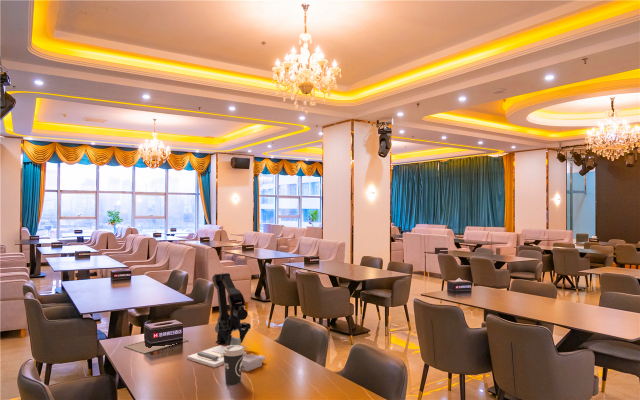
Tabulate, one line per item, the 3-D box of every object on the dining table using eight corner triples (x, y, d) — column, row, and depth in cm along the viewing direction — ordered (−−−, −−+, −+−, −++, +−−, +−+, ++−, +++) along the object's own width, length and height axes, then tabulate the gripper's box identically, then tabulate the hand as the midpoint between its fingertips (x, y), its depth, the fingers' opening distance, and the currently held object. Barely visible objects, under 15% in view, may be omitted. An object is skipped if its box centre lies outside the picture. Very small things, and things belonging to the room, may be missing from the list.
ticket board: (220, 347, 236) (220, 342, 236) (246, 354, 225) (246, 348, 225) (187, 359, 218) (187, 353, 218) (214, 367, 207) (214, 361, 207)
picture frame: (144, 355, 225) (188, 341, 248) (144, 353, 225) (188, 340, 248) (124, 348, 237) (168, 336, 259) (124, 346, 237) (168, 334, 259)
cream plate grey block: (233, 344, 238) (233, 335, 238) (246, 347, 232) (246, 338, 232) (222, 347, 231) (222, 338, 231) (235, 351, 226) (236, 342, 226)
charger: (270, 363, 214) (248, 372, 202) (257, 359, 219) (235, 367, 207) (270, 353, 214) (248, 362, 202) (257, 350, 219) (235, 357, 208)
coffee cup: (234, 376, 197) (235, 343, 197) (248, 381, 190) (248, 347, 191) (217, 382, 189) (218, 348, 189) (231, 388, 183) (231, 352, 183)
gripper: (237, 310, 244) (236, 338, 244) (211, 317, 229) (211, 346, 229) (251, 313, 238) (251, 341, 238) (226, 320, 223) (225, 350, 222)
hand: (234, 345), depth 232 cm, fingers open, 9 cm apart
